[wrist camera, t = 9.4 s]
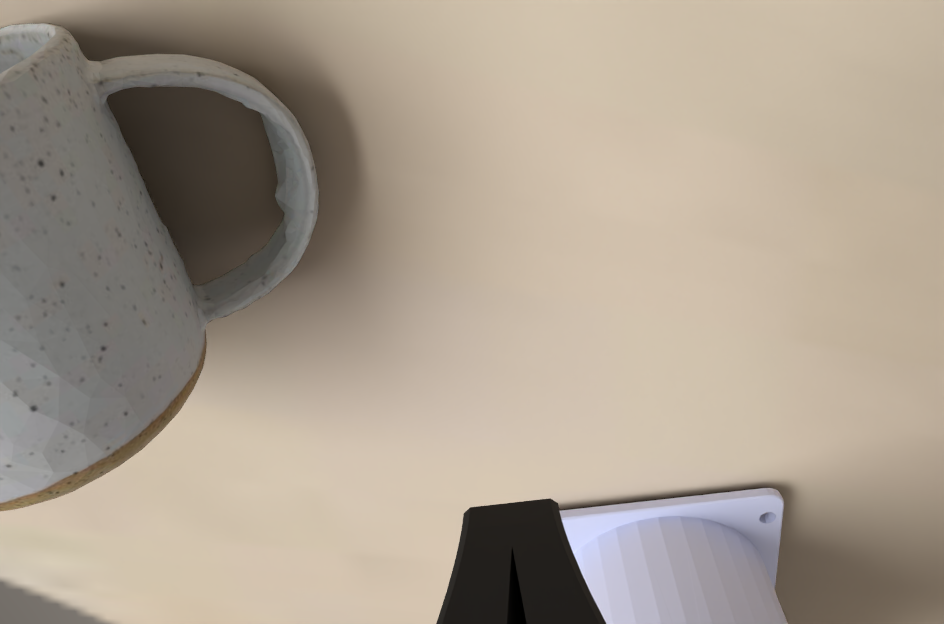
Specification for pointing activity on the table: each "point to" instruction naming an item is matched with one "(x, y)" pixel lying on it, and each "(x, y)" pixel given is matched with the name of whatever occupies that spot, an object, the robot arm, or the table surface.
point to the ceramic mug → (107, 261)
